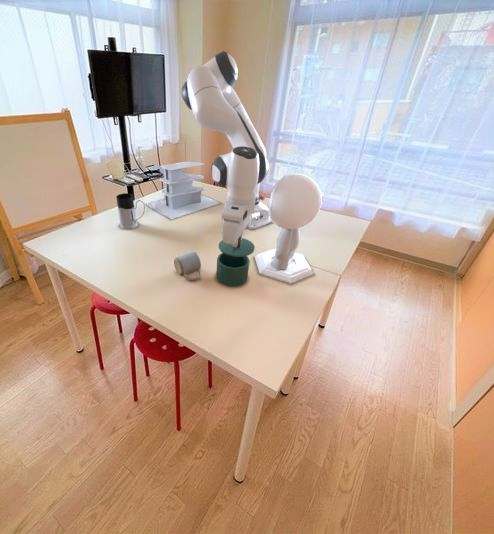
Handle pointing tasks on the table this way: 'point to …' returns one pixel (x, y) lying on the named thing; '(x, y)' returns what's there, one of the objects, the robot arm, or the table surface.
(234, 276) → the tin
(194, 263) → the ceramic mug
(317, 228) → the table surface
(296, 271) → the globe table lamp
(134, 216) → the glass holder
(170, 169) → the file organizer
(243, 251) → the lid
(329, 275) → the table surface
